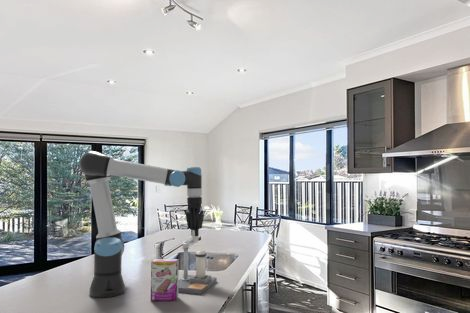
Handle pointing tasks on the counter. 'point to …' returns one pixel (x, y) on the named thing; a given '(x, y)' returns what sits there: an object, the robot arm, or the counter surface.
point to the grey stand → (193, 280)
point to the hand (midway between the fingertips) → (195, 242)
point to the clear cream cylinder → (200, 264)
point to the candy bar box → (164, 279)
